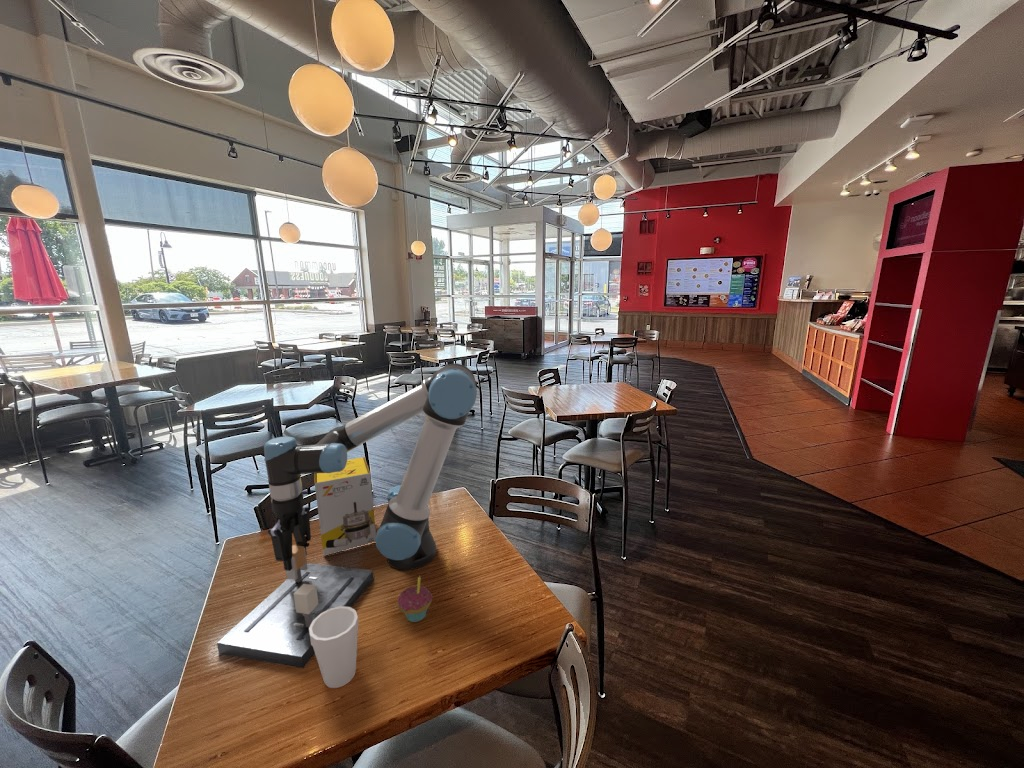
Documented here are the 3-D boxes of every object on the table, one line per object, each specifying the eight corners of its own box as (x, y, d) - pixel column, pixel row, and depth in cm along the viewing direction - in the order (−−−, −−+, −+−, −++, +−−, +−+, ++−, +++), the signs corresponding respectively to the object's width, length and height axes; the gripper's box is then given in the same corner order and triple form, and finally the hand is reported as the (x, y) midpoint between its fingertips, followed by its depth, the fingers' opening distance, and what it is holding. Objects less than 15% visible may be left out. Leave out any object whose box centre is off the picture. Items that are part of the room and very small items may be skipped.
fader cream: (320, 620, 100) (316, 585, 98) (311, 631, 97) (306, 595, 95) (308, 619, 101) (303, 583, 99) (298, 629, 97) (293, 593, 95)
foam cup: (325, 658, 93) (319, 607, 91) (367, 654, 94) (362, 604, 91) (309, 697, 84) (301, 642, 81) (355, 693, 85) (349, 638, 82)
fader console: (374, 579, 120) (373, 569, 119) (304, 668, 91) (302, 656, 90) (306, 571, 124) (304, 562, 123) (218, 653, 95) (216, 641, 94)
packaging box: (323, 556, 131) (314, 483, 126) (322, 532, 146) (314, 465, 141) (376, 543, 138) (370, 473, 133) (370, 520, 152) (364, 456, 148)
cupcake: (439, 607, 108) (436, 566, 106) (421, 631, 100) (418, 588, 98) (410, 600, 111) (407, 560, 109) (391, 623, 103) (387, 580, 101)
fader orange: (308, 577, 116) (303, 546, 114) (299, 585, 113) (295, 553, 111) (297, 576, 117) (293, 545, 115) (288, 584, 113) (284, 552, 112)
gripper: (295, 481, 118) (305, 554, 123) (249, 509, 103) (262, 592, 107) (319, 482, 117) (328, 557, 122) (276, 511, 101) (288, 595, 106)
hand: (297, 573), depth 114 cm, fingers closed on fader orange, 3 cm apart
